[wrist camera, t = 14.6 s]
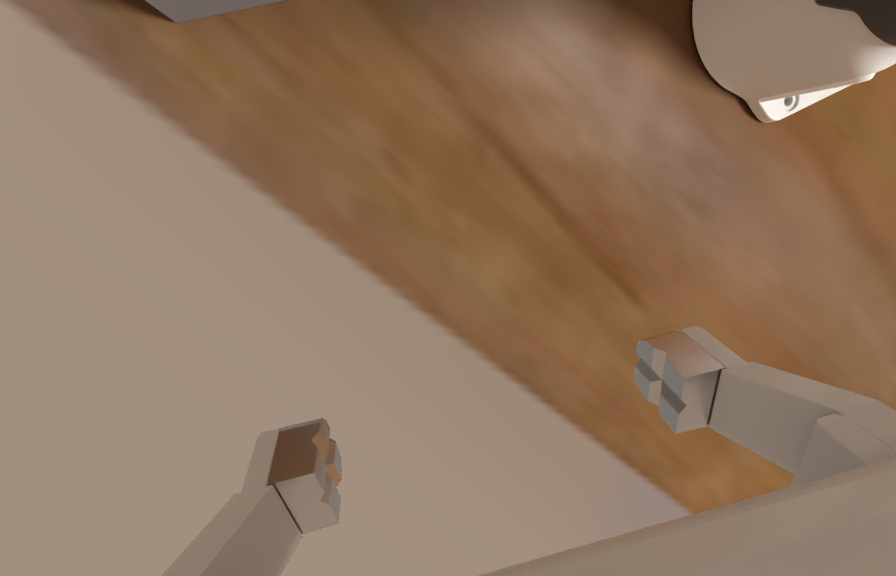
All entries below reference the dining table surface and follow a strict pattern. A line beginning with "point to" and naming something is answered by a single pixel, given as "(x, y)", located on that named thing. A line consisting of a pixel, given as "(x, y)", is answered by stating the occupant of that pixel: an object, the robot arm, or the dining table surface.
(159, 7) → the tote
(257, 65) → the dining table surface
